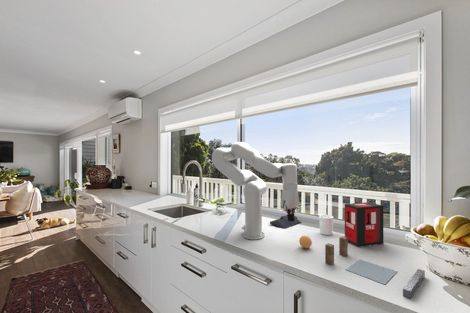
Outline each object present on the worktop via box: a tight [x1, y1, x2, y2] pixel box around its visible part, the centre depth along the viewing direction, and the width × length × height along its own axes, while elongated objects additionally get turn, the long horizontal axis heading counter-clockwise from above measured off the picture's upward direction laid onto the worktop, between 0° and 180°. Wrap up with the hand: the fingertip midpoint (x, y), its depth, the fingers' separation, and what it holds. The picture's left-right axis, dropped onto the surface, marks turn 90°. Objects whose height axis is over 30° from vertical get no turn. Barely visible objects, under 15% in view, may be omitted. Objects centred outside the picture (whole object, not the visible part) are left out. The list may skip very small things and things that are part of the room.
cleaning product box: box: [344, 201, 384, 248], centre depth 122 cm, size 16×9×20 cm, turn 105°
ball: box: [298, 235, 313, 249], centre depth 115 cm, size 6×6×6 cm
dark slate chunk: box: [269, 214, 302, 230], centre depth 156 cm, size 15×22×5 cm
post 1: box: [324, 243, 335, 266], centre depth 98 cm, size 3×3×8 cm
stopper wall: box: [402, 268, 426, 300], centre depth 81 cm, size 2×20×2 cm, turn 130°
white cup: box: [318, 214, 334, 236], centre depth 136 cm, size 8×8×10 cm
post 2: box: [338, 236, 349, 257], centre depth 106 cm, size 3×3×8 cm
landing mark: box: [345, 258, 398, 285], centre depth 92 cm, size 14×14×1 cm
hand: (291, 220), depth 121 cm, fingers closed
